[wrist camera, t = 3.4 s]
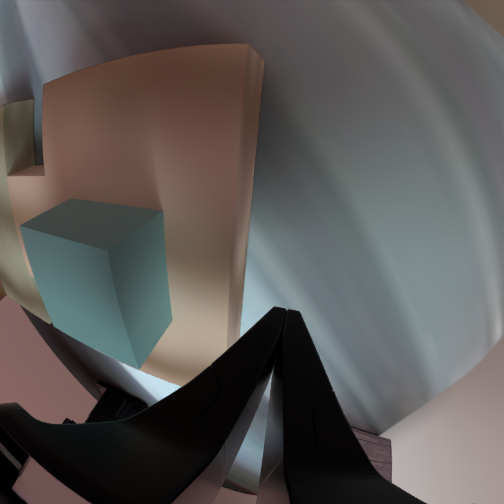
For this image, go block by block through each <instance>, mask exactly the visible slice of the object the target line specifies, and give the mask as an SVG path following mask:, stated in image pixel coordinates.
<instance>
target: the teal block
mask: <svg viewBox="0 0 504 504" xmlns="http://www.w3.org/2000/svg"><path fill="white" fill-rule="evenodd" d="M20 231H21V235H22V239H23V242H24V246H25V250H26V253H27V256H28V260H29V263H30V266H31V269H32V272H33V275H34V278H35V281H36V284H37V286H38V289H39V292H40V294H41V297H42V300H43V302H44V304H45V307H46V309H47V312H48V314H49V316H50V319H51V321H52V323H53V325H54V327H55V328H57V329H59V330H60V331H62V332H64V333H66V334H67V335H69V336H71V337H73V338H74V339H76V340H78V341H80V342H82V343H84V344H85V345H87V346H89V347H91V348H93V349H95V350H97V351H99V352H101V353H103V354H105V355H107V356H109V357H111V358H114V359H116V360H118V361H120V362H122V363H124V364H127V365H129V366H131V367H134V368H136V369H138V370H140V368H141V367H142V365H143V364H144V362H145V361H146V359H147V358H148V356H149V355H150V353H151V352H152V350H153V349H154V347H155V346H156V344H157V343H158V341H159V340H160V338H161V337H162V335H163V334H164V332H165V331H166V329H167V328H168V327H169V325H170V324H171V322H172V321H173V318H172V310H171V302H170V294H169V284H168V274H167V263H166V250H165V235H164V217H163V211H161V210H155V209H148V208H141V207H133V206H126V205H119V204H111V203H103V202H95V201H87V200H79V199H69V200H67V201H65V202H63V203H61V204H59V205H57V206H55V207H53V208H51V209H49V210H47V211H45V212H43V213H41V214H39V215H37V216H36V217H34V218H32V219H30V220H28V221H27V222H25V223H23V224H21V225H20Z"/></svg>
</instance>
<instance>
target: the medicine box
mask: <svg viewBox="0 0 504 504" xmlns="http://www.w3.org/2000/svg"><path fill="white" fill-rule="evenodd" d="M352 430H353V432H354V434H355V435H356V437H357V439H358V441H359V442H360V444H361V446H362V447H363V449H364V451H365V453H366V454H367V456H368V458H369V459H370V461H371V463H372V464H373V466H374V467H375V469H376V470H377V471H378V472H379V473H380V474H381V475H382V476H383V477H384V478H385V479H387V480H388V481H390V482H391V483H392V450H391V440H390V439H387V438H383V437H380V436H376V435H373V434H369V433H366V432H363V431H360V430H356V429H353V428H352Z"/></svg>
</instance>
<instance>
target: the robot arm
mask: <svg viewBox="0 0 504 504" xmlns="http://www.w3.org/2000/svg"><path fill="white" fill-rule="evenodd" d="M285 315H286V316H285ZM275 359H276V360H275ZM274 363H275V364H274ZM273 367H274V368H273ZM272 371H273V374H272ZM271 374H272V382H271V391H270V401H269V410H268V419H267V427H266V436H265V444H264V452H263V459H262V467H261V474H260V481H259V490H258V495H257V501H256V504H427V503H425V502H423V501H421V500H419V499H418V498H415V497H414V496H412V495H411V494H409V493H407V492H406V491H404V490H402V489H401V488H399V487H397V486H396V485H394V484H393V483H391V482H390V481H388V480H387V479H385V478H384V477H383V476H382V475H381V474H380V473H379V472H378V471H377V470H376V469H375V467H374V466H373V464H372V463H371V461H370V459H369V458H368V456H367V454H366V453H365V451H364V449H363V447H362V446H361V444H360V442H359V441H358V439H357V437H356V435H355V434H354V432H353V430H352V428H351V427H350V425H349V423H348V421H347V419H346V417H345V415H344V413H343V411H342V409H341V407H340V404H339V402H338V400H337V397H336V395H335V393H334V391H332V390H333V388H332V386H331V383H330V381H329V378H328V376H327V374H326V371H325V369H324V367H323V364H322V362H321V359H320V357H319V355H318V352H317V350H316V348H315V345H314V343H313V341H312V338H311V336H310V334H309V331H308V329H307V327H306V324H305V322H304V320H303V318H302V315H301V313H300V312H299V311H296V310H291V309H288V310H287V311H286V309H285V308H281V307H276V306H275V307H273V308H272V309H271V310H270V311H269V312H267V313H266V314H265V315H264V316H263V317H262V318H261V319H260V320H259V321H258V322H257V323H256V324H255V325H254V326H253V327H251V328H250V329H249V330H248V331H247V332H246V333H245V334H244V335H243V336H242V337H241V338H240V339H238V340H237V341H236V342H235V343H234V344H233V345H232V346H231V347H230V348H228V349H227V350H226V351H225V352H224V353H223V354H222V355H221V356H219V357H218V358H217V359H216V360H215V361H214V362H213V363H211V366H208V367H207V368H206V369H204V370H203V371H202V372H201V373H200V374H198V375H197V376H196V377H195V378H193V379H192V380H191V381H189V382H188V383H187V384H185V385H184V386H182V387H181V388H179V389H178V390H176V391H175V392H173V393H172V394H170V395H168V396H167V397H165V398H163V399H162V400H160V401H158V402H157V403H155V404H153V405H152V406H150V407H147V405H146V404H144V403H143V402H140V401H138V400H136V399H134V398H132V397H129V396H127V395H125V394H123V393H121V392H119V391H117V390H115V389H113V388H111V387H109V386H107V385H105V384H103V383H102V382H100V381H98V382H97V384H96V385H97V387H98V388H99V390H100V392H101V393H102V396H101V398H100V399H99V401H98V402H97V404H96V405H95V407H94V408H93V410H92V411H91V412H90V414H89V417H88V418H87V420H86V421H85V423H82V424H76V422H74V421H73V420H72V421H71V420H69V419H68V418H66V419H65V420H64V422H63V423H62V424H50V423H45V422H41V421H39V420H37V419H35V418H33V417H32V416H31V415H30V414H29V413H28V412H27V411H26V410H24V409H23V408H22V407H21V406H20V405H19V404H18V403H15V402H14V403H3V404H0V504H212V503H213V501H214V500H215V498H216V496H217V494H218V492H219V490H220V488H221V486H222V484H223V481H224V480H225V478H226V476H227V474H228V472H229V470H230V468H231V466H232V464H233V462H234V460H235V458H236V455H237V453H238V451H239V449H240V447H241V445H242V443H243V440H244V438H245V436H246V434H247V431H248V429H249V427H250V425H251V422H252V420H253V418H254V416H255V413H256V411H257V409H258V406H259V404H260V401H261V399H262V397H263V394H264V392H265V389H266V387H267V384H268V382H269V379H270V377H271Z"/></svg>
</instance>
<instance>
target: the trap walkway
mask: <svg viewBox="0 0 504 504" xmlns="http://www.w3.org/2000/svg"><path fill="white" fill-rule="evenodd" d="M264 65H265V61H264V60H263V59H262V58H261V56H260V55H259V54H258V53H257V52H256V51H255V50H254V49H253V48H252V47H251V46H250V45H249V44H213V45H199V46H188V47H180V48H172V49H165V50H159V51H153V52H148V53H142V54H137V55H133V56H128V57H124V58H120V59H116V60H112V61H108V62H105V63H101V64H98V65H95V66H91V67H88V68H85V69H82V70H79V71H76V72H74V73H71V74H68V75H65V76H63V77H60V78H58V79H55V80H53V81H50V82H48V83H46V84H44V85H43V102H42V140H43V158H44V165H36V164H35V150H34V99H31V100H25V101H19V102H14V103H9V104H4V105H2V106H0V300H1V299H3V298H4V297H5V296H6V295H8V296H9V297H10V298H12V299H13V300H14V301H16V302H17V303H18V304H20V305H21V306H23V307H24V308H26V309H27V310H28V311H30V312H31V313H33V314H34V315H36V316H37V317H39V318H41V319H42V320H44V321H45V322H47V323H48V324H50V323H51V322H52V321H51V319H50V316H49V314H48V312H47V309H46V307H45V304H44V302H43V300H42V297H41V294H40V292H39V289H38V286H37V284H36V281H35V278H34V275H33V272H32V269H31V266H30V263H29V260H28V256H27V253H26V250H25V246H24V242H23V239H22V235H21V231H20V225H21V224H23V223H25V222H27V221H28V220H30V219H32V218H34V217H36V216H37V215H39V214H41V213H43V212H45V211H47V210H49V209H51V208H53V207H55V206H57V205H59V204H61V203H63V202H65V201H67V200H69V199H79V200H87V201H95V202H103V203H111V204H119V205H126V206H133V207H141V208H148V209H155V210H161V211H163V217H164V235H165V250H166V263H167V274H168V284H169V294H170V302H171V310H172V318H173V321H172V322H171V324H170V325H169V327H168V328H167V329H166V331H165V332H164V334H163V335H162V337H161V338H160V340H159V341H158V343H157V344H156V346H155V347H154V349H153V350H152V352H151V353H150V355H149V356H148V358H147V359H146V361H145V362H144V364H143V365H142V367H141V368H140V371H142V372H145V373H147V374H150V375H152V376H155V377H157V378H160V379H163V380H165V381H168V382H171V383H174V384H176V385H179V386H184V385H185V384H187V383H188V382H189V381H191V380H192V379H193V378H195V377H196V376H197V375H198V374H200V373H201V372H202V371H203V370H204V369H206V368H207V367H208V366H211V363H213V362H214V361H215V360H216V359H217V358H218V357H219V356H221V355H222V354H223V353H224V352H225V351H226V350H227V349H228V348H230V347H231V346H232V345H233V344H234V343H235V342H236V341H237V340H238V339H239V337H240V326H241V314H242V302H243V291H244V279H245V268H246V257H247V246H248V234H249V223H250V212H251V201H252V190H253V180H254V169H255V158H256V148H257V137H258V127H259V116H260V106H261V96H262V85H263V75H264ZM113 359H114V358H113ZM115 360H116V359H115ZM117 361H118V360H117ZM119 362H120V361H119ZM126 365H127V364H126ZM128 366H129V365H128ZM133 368H134V367H133ZM135 369H136V368H135Z"/></svg>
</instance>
